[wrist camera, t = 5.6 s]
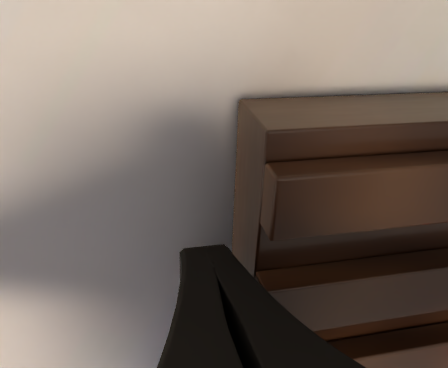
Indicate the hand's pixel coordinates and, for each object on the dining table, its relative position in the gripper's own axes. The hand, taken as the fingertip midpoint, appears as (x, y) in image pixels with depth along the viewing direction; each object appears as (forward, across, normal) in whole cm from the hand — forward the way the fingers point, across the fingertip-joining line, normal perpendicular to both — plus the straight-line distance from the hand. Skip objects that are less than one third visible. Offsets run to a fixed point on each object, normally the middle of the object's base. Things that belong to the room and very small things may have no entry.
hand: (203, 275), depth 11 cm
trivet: (+1, -6, 0) cm, 6 cm away
